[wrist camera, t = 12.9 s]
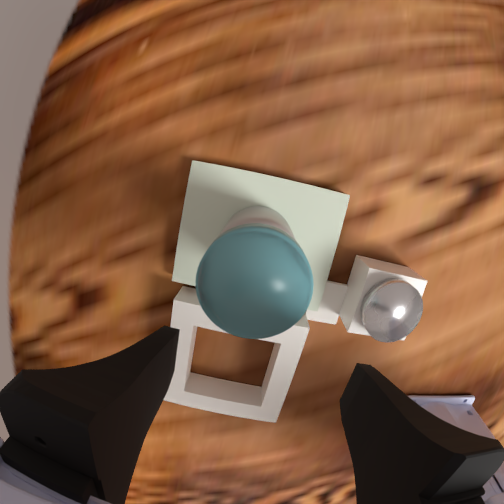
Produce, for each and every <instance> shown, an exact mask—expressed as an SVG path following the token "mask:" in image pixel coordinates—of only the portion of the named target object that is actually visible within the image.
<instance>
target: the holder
mask: <svg viewBox="0 0 504 504" xmlns="http://www.w3.org/2000/svg"><path fill="white" fill-rule="evenodd" d="M388 278H401V279H404V280H406V281H407V282H409V283H410V284H411V285H412V286H413V287H414V288H416V289H417V290H418V292H419V293H420V295H421V297H422V295H423V292H424V289H425V287H426V284H427V280H425V279H424V278H423V277H422V276H420V275H419V274H418V273H416V272H415V271H413V270H412V269H411V268H409V267H406V266H402V265H397V264H393V263H389V262H385V261H381V260H376V259H372V258H368V257H364V256H359V255H356V257H355V260H354V264H353V267H352V270H351V274H350V277H349V280H348V283H347V284H343V283H338V282H333V281H328V280H327V282H326V286H325V289H324V292H323V296H322V299H321V302H320V305H319V309H318V312H317V311H312V310H306V312H305V313H304V315H303V316H302V318H301V319H300V320H299V321H298V322H297V323H296V324H295V325H293V326H292V327H291V328H289V329H288V330H286V331H285V332H282V333H280V334H278V335H275V336H272V337H268V338H262V339H259V340H264V341H269V342H275V343H274V347H273V350H272V353H271V357H270V360H269V364H268V367H267V370H266V374H265V377H264V380H263V383H262V387H260V386H254V385H249V384H243V383H238V382H233V381H228V380H223V379H218V378H214V377H209V376H205V375H200V374H196V373H192V372H190V371H191V364H192V358H193V351H194V345H195V338H196V332H197V326H198V327H202V328H206V329H211V330H215V331H220V332H225V333H227V332H226V331H224V330H222V329H221V328H219V327H218V326H216V325H215V324H214V323H213V322H212V321H211V320H210V319H209V318H208V317H207V315H206V314H205V312H204V311H203V309H202V307H201V305H200V303H199V300H198V297H197V293H196V289H195V288H190V287H186V286H182V288H181V289H180V291H179V292H178V294H177V295H176V297H175V298H174V301H173V309H172V317H171V326H170V327H172V328H176V329H180V332H179V339H178V347H177V355H176V363H175V371H174V374H173V377H172V380H171V383H170V386H169V389H168V391H167V393H166V395H165V397H164V399H163V400H165V401H169V402H173V403H176V404H180V405H184V406H189V407H193V408H197V409H202V410H206V411H211V412H216V413H220V414H226V415H231V416H236V417H242V418H248V419H254V420H260V421H267V422H274V423H276V421H277V418H278V416H279V413H280V411H281V408H282V405H283V403H284V400H285V397H286V395H287V392H288V389H289V386H290V384H291V381H292V378H293V375H294V373H295V370H296V367H297V364H298V361H299V358H300V355H301V352H302V350H303V347H304V344H305V341H306V338H307V335H308V332H309V324H308V320H313V321H318V322H324V323H330V324H335V325H336V323H337V320H338V317H339V315H340V317H341V320H342V322H343V324H344V326H345V328H346V330H347V332H350V333H356V334H363V335H369V336H371V335H370V334H369V333H368V331H367V330H366V328H365V326H364V325H363V323H362V320H361V316H360V309H361V304H362V301H363V299H364V297H365V295H366V294H367V292H368V291H369V290H370V289H371V288H372V287H373V286H374V285H375V284H377V283H378V282H380V281H382V280H384V279H388ZM229 334H230V333H229ZM405 338H406V336H405V337H404V338H402V339H400V340H405Z"/></svg>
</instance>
